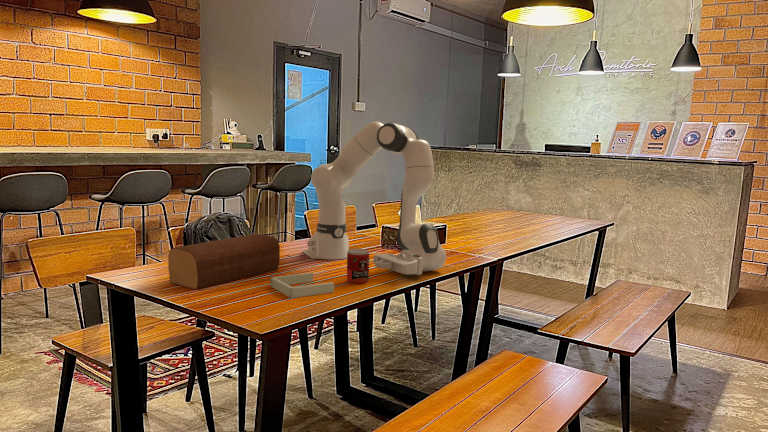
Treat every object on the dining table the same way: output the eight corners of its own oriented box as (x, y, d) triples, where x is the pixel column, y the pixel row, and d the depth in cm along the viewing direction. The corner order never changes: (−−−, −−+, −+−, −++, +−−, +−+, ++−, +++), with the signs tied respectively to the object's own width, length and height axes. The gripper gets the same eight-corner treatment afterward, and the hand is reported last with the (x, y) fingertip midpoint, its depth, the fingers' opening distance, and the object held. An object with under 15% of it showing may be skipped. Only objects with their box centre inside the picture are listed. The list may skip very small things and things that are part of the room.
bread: (166, 283, 197) (165, 244, 195) (252, 264, 229) (252, 230, 228) (197, 291, 189) (196, 250, 187) (281, 270, 221) (281, 235, 219)
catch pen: (270, 286, 197) (270, 277, 196) (311, 280, 205) (311, 272, 205) (291, 298, 183) (291, 288, 183) (333, 292, 192) (334, 283, 191)
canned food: (352, 285, 201) (353, 253, 200) (343, 279, 208) (343, 249, 207) (372, 283, 205) (373, 252, 203) (362, 278, 212) (363, 248, 210)
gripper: (392, 248, 226) (361, 251, 218) (425, 258, 209) (393, 262, 201) (391, 264, 227) (361, 268, 219) (424, 275, 210) (392, 280, 202)
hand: (376, 265), depth 210 cm, fingers closed
